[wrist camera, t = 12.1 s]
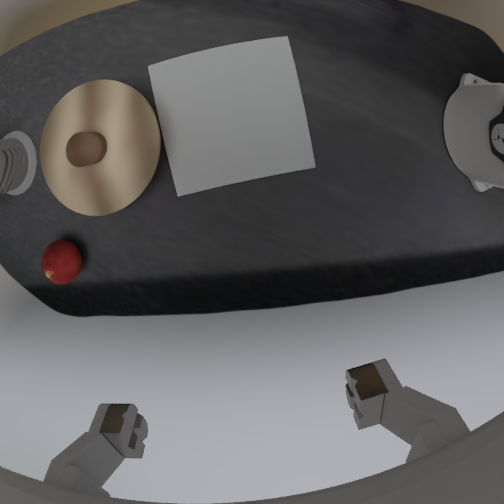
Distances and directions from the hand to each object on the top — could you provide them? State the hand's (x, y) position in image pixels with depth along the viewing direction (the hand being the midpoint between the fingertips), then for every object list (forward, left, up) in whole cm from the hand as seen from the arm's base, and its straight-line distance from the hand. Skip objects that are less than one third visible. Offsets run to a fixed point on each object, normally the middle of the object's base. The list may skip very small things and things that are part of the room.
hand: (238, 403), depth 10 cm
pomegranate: (+24, 0, -29) cm, 38 cm away
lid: (+13, -12, -24) cm, 29 cm away
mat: (-2, -12, -29) cm, 32 cm away
